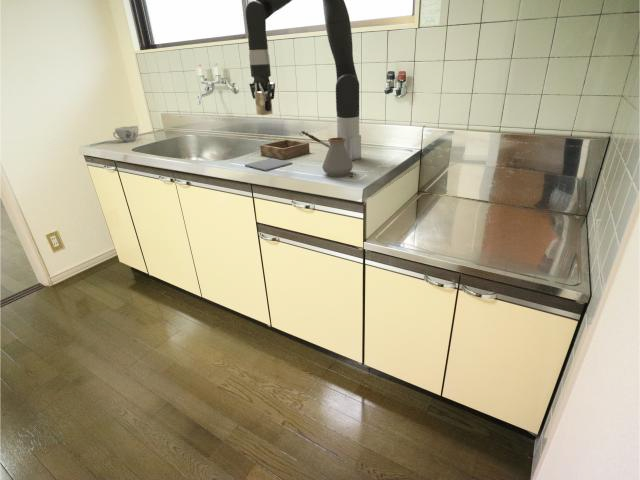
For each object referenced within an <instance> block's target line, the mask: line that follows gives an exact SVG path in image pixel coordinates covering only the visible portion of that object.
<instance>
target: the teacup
mask: <svg viewBox="0 0 640 480" xmlns="http://www.w3.org/2000/svg"><path fill="white" fill-rule="evenodd" d="M114 130H115V131H113V133H112V135H113V137H114V138H115V139H117V140H122V141H123V142H125V143H131V142H132V143H133V142H135V141H136V139H137V138H138V136H139V126H138V125H134V126H133V125H132V126H120V127H116V128H115V129H114ZM116 135H117V136H118V137H117V136H116Z"/></svg>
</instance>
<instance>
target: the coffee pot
mask: <svg viewBox="0 0 640 480" xmlns="http://www.w3.org/2000/svg"><path fill="white" fill-rule="evenodd" d="M303 135H305V136H306V137H308V138H310V139H311V140H313V141H316V142H317V143H319V144H321V145H323V146H325V147H327V148H328V150H327V151H326V152H327V153H326V155H325V158H324V160H323V164H322V165H321V168H322V170H323V172H324V173H326V174H327V175H328V176H329V177H334V178H335V177H336V178H337V177H338V178H339V177H344V176H348V175H349V173H351V171H352V170H353V168H354V164H353V162H352V161H351V159H350V157H349V155H348V152H347V150H346V148H345V146H344V143H345V140H346V139H345V138H342V137H339V138H337V137H331V138H328V142H329V144H328V143H326V142H323V141H322V140H321V139H319V138H318V137H315V136H314V135H312V134H310V133H308V132H306V131H303V130H302V131H301V132H300V134H299V137H302V136H303Z"/></svg>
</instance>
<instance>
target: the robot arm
mask: <svg viewBox="0 0 640 480" xmlns="http://www.w3.org/2000/svg"><path fill="white" fill-rule="evenodd" d="M292 1H293V0H251V1H249V2H248V3H247V4H246V6H245V9H244V14H245V15H244V16H245V21H246V27H247V40H248V41H247V44H248V52H249V55H248V58H249V66H250V68H249V69H250V76H251V78H253V82H249V84H248V85H249V88H250V92H251V97H252V98H253V100H255V93H260V92H262V93H263V95H264V100H265V110H266V111H271V100H274V99H275V89H276V83H274V82H271V81H270V77H271V76H272V74H271V73H272V72H271V61H270V60H271V59H270V54H269V45H268V37H267V27H266V26H267V25H266V24H267V23H266V21H267V19H268V18H269V17H271V16H272V15H273V14H274V13H275V12H277V11H279V10H281V9H282V8H284V7H285V6H287V5H288V4H289V3H291V2H292ZM322 8H323V16H324V21H325V23H324V24H325V29H326V30H325V31H326V35H327V40H328V43H329V44H328V45H329V47H330V51H331V54H332V57H333V61H334V65H335V72H336V73H335V74H336V83H335V107H336V133H337V134H336V138H339V137H342V138H345V139H346V140H345V143H344V146H345V148H346V150H347V152H348V155H349V157H350V159H351V162H352V161H356V160H358V159H361V158H362V135H360V82H359V81H360V80H359V78H358V75H357V71H356V68H355V61H354V54H353V35H352V33H353V32H352V26H351V19H350V14H349V11H348V8H347V5H346V2H345V0H322ZM270 94H271V96H270ZM266 95H267V96H266Z"/></svg>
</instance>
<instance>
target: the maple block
mask: <svg viewBox="0 0 640 480" xmlns="http://www.w3.org/2000/svg"><path fill="white" fill-rule="evenodd" d="M254 94H255V99H254V101H255V108H256V109H255V110H256V115H260V116H267V115H273V105H272V104H273V103H272V100H273V99H272V100H271V111H266V110H265V100H264V95H263V93H262V92H260V93H255V92H254ZM266 96H267V95H266ZM270 96H271V94H270Z"/></svg>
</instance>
